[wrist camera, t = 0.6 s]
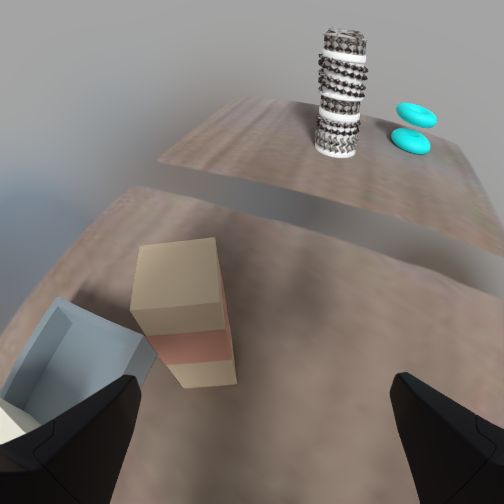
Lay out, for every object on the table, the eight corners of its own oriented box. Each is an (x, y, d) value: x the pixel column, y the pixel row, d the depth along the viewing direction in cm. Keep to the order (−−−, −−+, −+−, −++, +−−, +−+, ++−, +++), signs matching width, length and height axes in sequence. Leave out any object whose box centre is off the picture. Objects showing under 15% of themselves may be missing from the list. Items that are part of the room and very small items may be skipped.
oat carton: (237, 384, 24) (220, 302, 14) (183, 389, 23) (128, 311, 14) (232, 337, 27) (215, 236, 18) (182, 342, 27) (139, 245, 17)
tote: (80, 522, 12) (54, 523, 10) (2, 452, 15) (-23, 442, 12) (157, 354, 26) (143, 335, 23) (74, 316, 28) (57, 296, 25)
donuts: (435, 110, 52) (440, 121, 46) (427, 145, 59) (429, 161, 53) (397, 98, 55) (397, 107, 49) (391, 133, 63) (389, 147, 56)
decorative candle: (304, 142, 57) (309, 25, 39) (339, 137, 59) (349, 30, 41) (328, 161, 51) (340, 28, 33) (365, 156, 53) (382, 36, 35)
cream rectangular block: (65, 495, 14) (15, 488, 9) (13, 449, 16) (-34, 428, 11) (82, 456, 17) (34, 441, 12) (29, 414, 19) (-16, 387, 14)
